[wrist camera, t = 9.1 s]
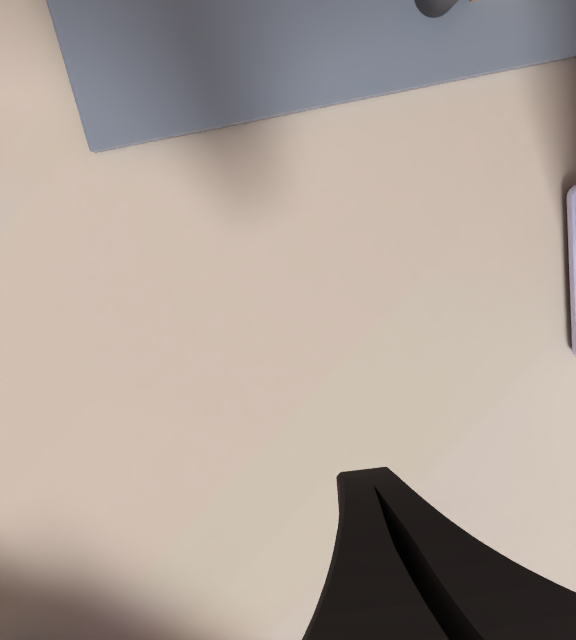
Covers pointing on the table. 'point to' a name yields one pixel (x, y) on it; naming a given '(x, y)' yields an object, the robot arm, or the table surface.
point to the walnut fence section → (435, 7)
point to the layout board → (280, 56)
